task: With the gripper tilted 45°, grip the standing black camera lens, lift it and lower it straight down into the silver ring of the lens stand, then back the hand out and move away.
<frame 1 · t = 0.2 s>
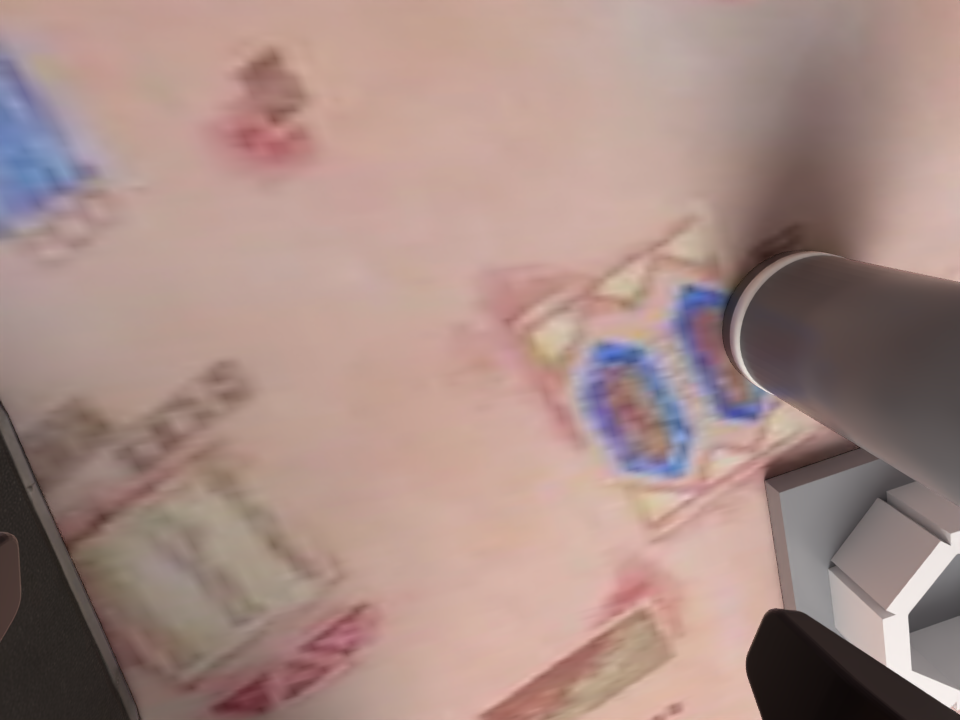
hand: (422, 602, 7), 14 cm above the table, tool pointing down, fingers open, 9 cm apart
lens stand: (909, 551, 27), on the table
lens: (788, 320, 23), on the table
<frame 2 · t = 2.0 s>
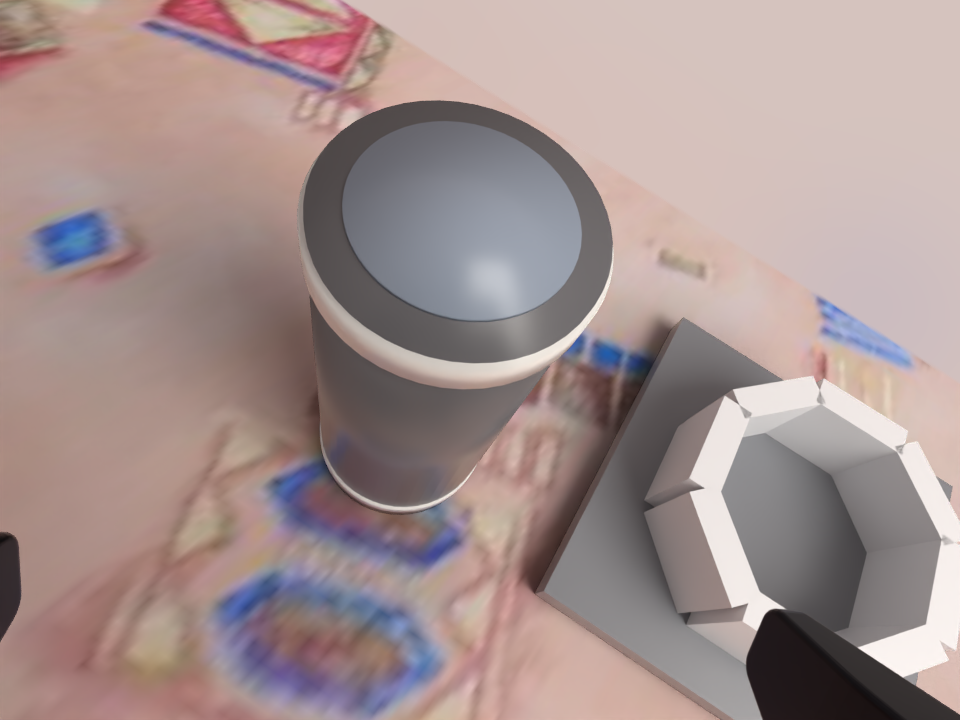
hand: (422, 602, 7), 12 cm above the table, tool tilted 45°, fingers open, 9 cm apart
lens stand: (753, 537, 22), on the table
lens: (401, 437, 21), on the table
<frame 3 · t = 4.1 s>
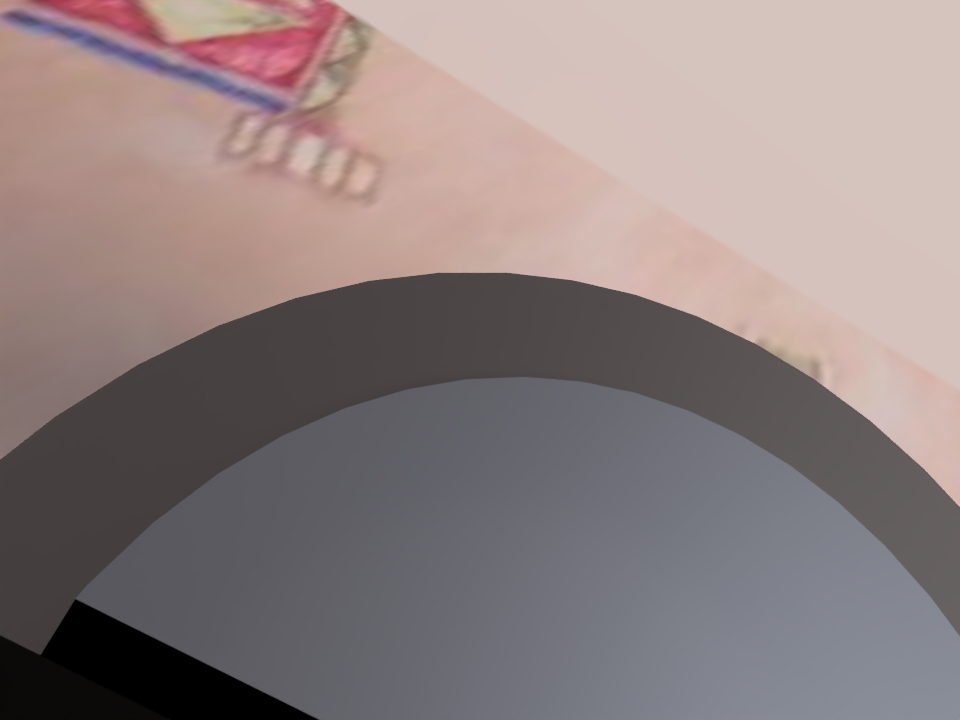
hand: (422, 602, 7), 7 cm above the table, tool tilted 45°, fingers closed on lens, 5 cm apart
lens: (375, 694, 13), on the table, touching gripper
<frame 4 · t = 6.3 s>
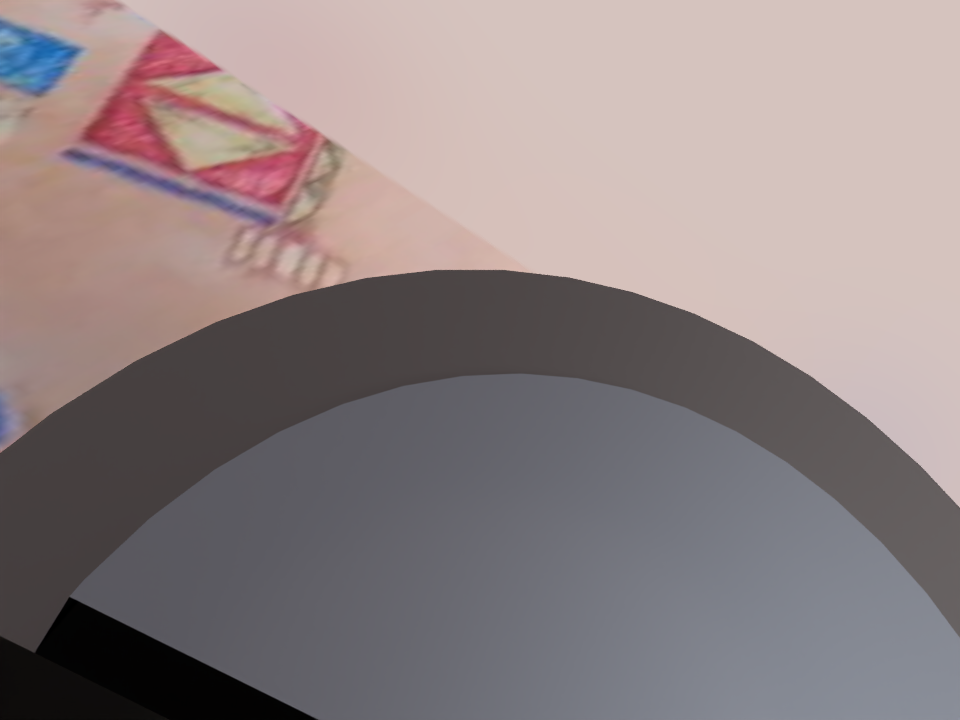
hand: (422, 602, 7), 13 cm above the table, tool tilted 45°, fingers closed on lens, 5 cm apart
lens: (375, 694, 13), point 7 cm above the table, touching gripper
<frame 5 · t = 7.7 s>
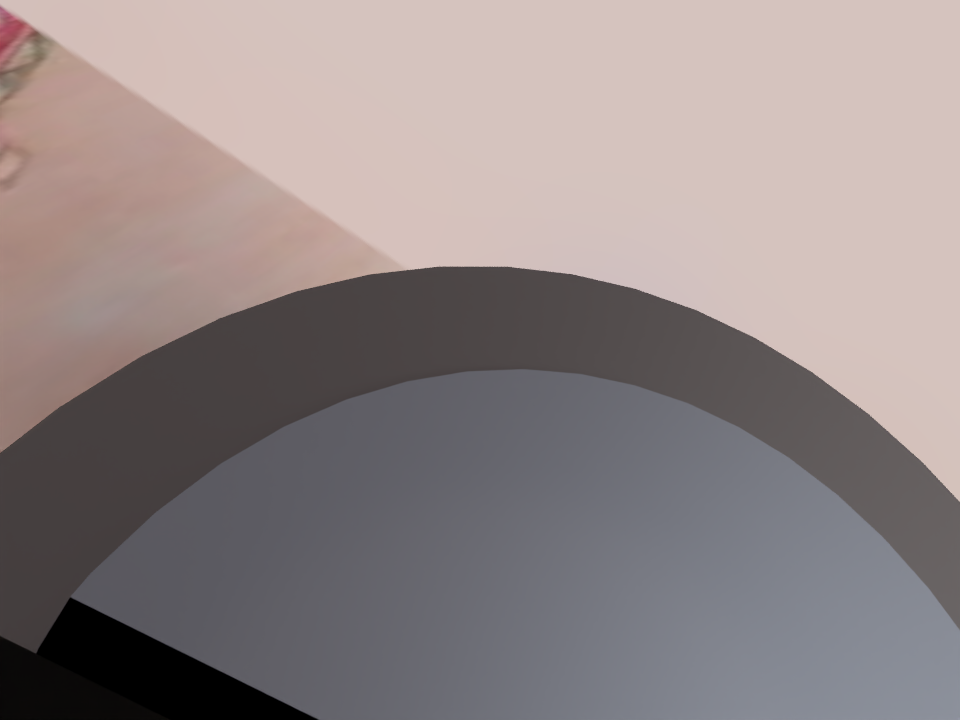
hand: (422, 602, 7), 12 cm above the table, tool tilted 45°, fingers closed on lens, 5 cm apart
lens: (375, 693, 13), point 6 cm above the table, touching gripper
when the fingers open (9 cm above the table, at t = 8.7 s): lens drops 1 cm, resting on lens stand.
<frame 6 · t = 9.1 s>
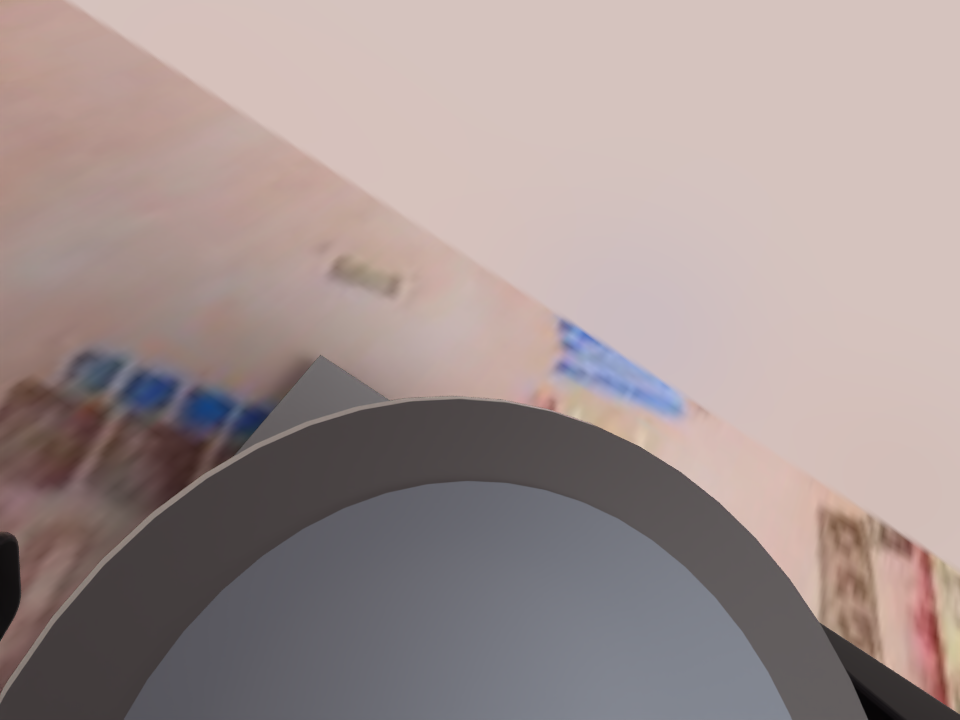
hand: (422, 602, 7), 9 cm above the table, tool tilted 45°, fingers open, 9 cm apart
lens stand: (370, 686, 15), on the table
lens: (370, 694, 14), point 1 cm above the table, touching lens stand
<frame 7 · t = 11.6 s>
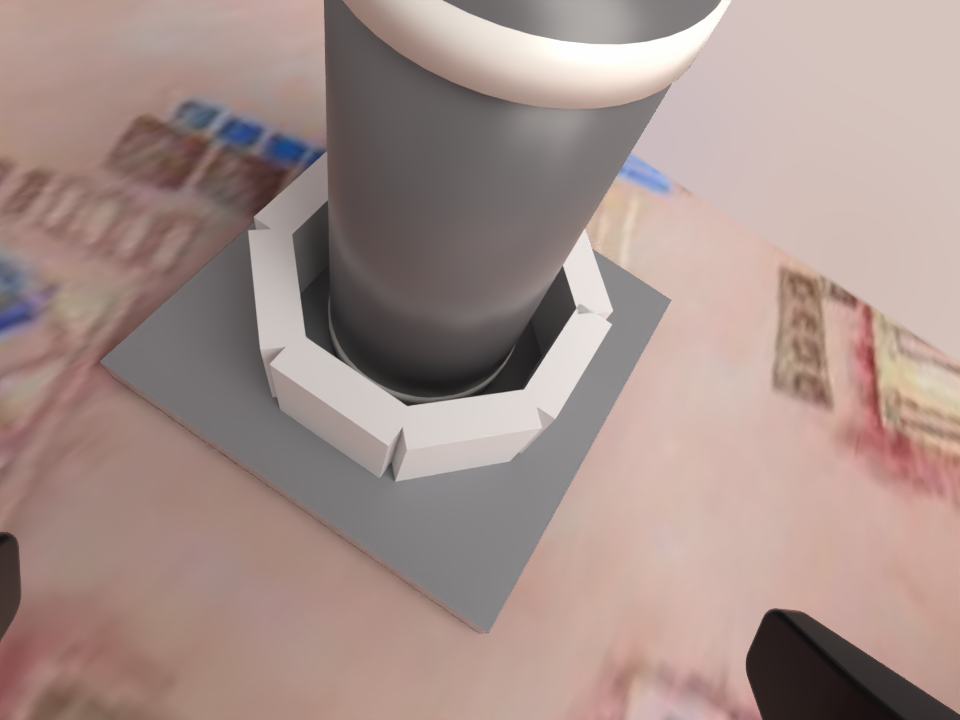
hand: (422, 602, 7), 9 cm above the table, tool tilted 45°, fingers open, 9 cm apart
lens stand: (419, 341, 19), on the table
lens: (421, 329, 18), point 1 cm above the table, touching lens stand
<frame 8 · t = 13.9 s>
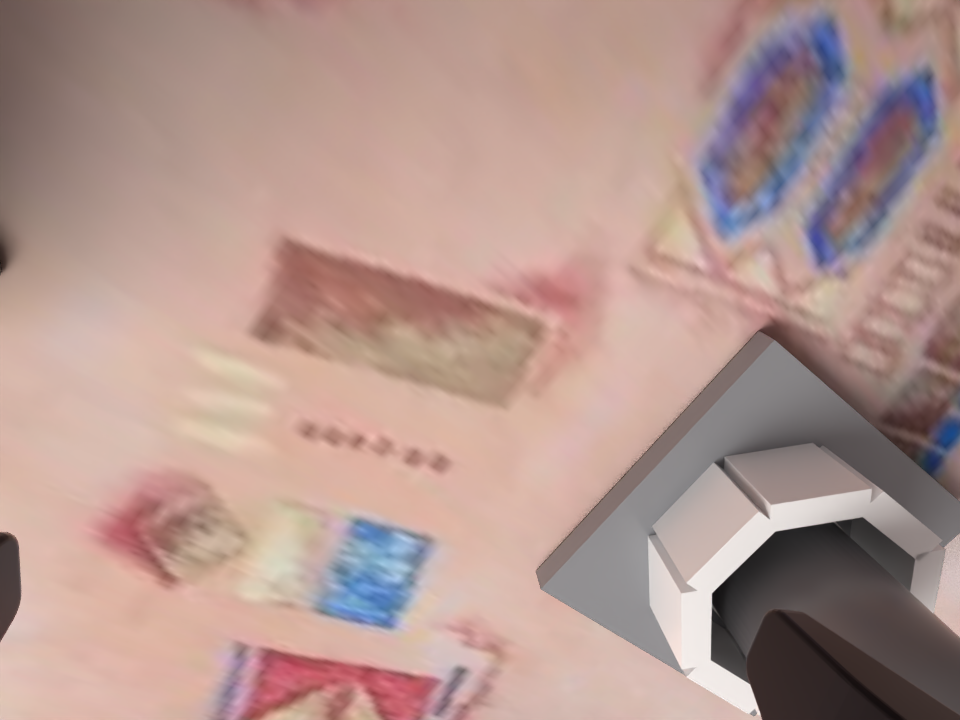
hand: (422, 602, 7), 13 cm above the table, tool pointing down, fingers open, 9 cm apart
lens stand: (749, 536, 24), on the table
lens: (761, 551, 23), point 1 cm above the table, touching lens stand
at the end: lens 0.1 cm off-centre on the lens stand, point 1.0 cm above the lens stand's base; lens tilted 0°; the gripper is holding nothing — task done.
